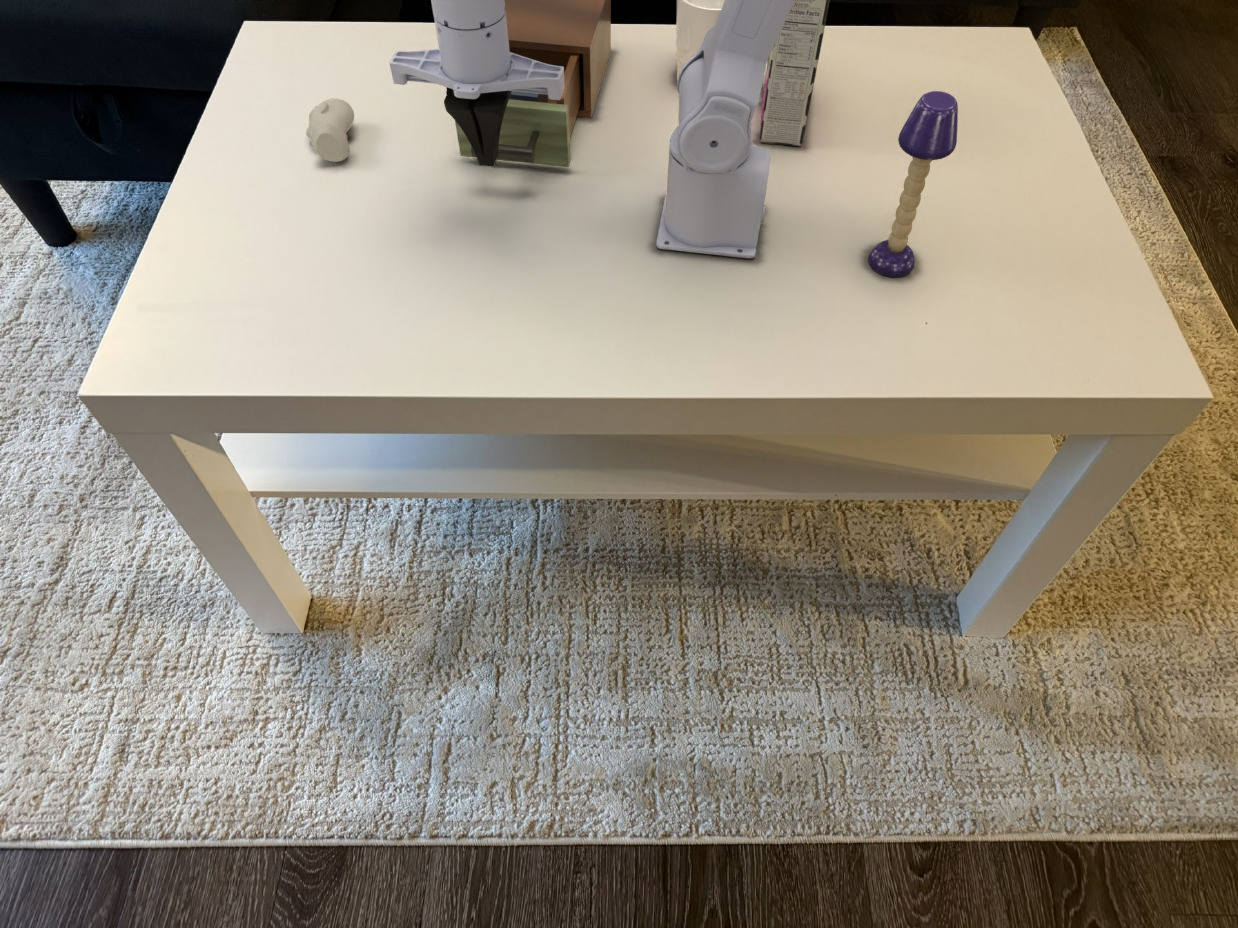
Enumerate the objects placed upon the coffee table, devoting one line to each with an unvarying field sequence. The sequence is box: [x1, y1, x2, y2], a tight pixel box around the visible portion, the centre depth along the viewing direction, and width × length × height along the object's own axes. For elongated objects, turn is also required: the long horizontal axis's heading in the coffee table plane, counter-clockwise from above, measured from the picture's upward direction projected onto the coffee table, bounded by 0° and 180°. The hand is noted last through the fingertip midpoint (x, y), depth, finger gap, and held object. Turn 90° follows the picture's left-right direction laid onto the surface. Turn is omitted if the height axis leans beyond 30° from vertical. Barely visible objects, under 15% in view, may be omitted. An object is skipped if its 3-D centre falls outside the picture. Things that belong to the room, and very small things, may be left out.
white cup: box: [675, 0, 725, 82], centre depth 96 cm, size 8×8×10 cm
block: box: [509, 91, 548, 103], centre depth 90 cm, size 4×4×4 cm
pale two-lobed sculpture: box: [305, 98, 355, 162], centre depth 91 cm, size 4×8×5 cm
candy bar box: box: [758, 0, 831, 147], centre depth 89 cm, size 11×5×16 cm, turn 171°
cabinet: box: [505, 0, 612, 119], centre depth 96 cm, size 14×13×8 cm
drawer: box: [454, 47, 583, 168], centre depth 89 cm, size 17×11×6 cm
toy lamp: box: [868, 90, 959, 278], centre depth 75 cm, size 5×5×17 cm
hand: (488, 159), depth 80 cm, fingers closed
